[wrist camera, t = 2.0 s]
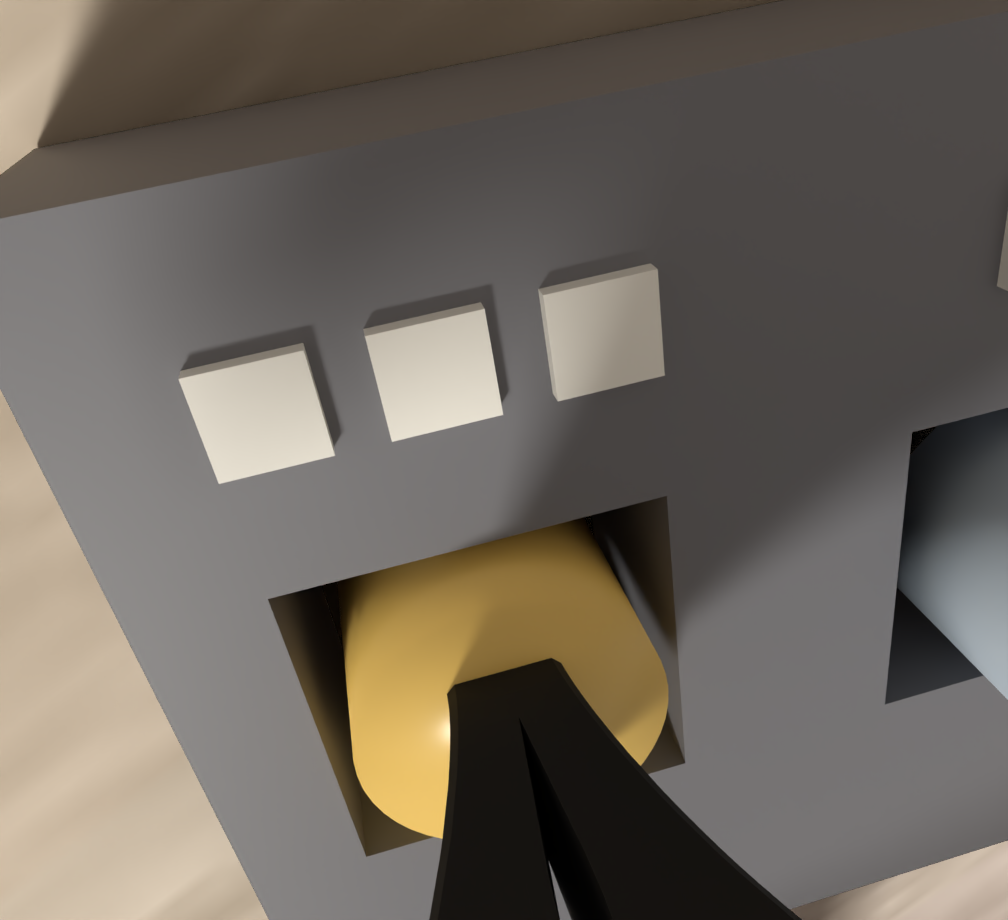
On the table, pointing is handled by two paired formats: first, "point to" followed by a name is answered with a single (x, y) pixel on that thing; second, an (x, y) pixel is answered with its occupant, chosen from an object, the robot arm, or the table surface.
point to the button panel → (545, 409)
